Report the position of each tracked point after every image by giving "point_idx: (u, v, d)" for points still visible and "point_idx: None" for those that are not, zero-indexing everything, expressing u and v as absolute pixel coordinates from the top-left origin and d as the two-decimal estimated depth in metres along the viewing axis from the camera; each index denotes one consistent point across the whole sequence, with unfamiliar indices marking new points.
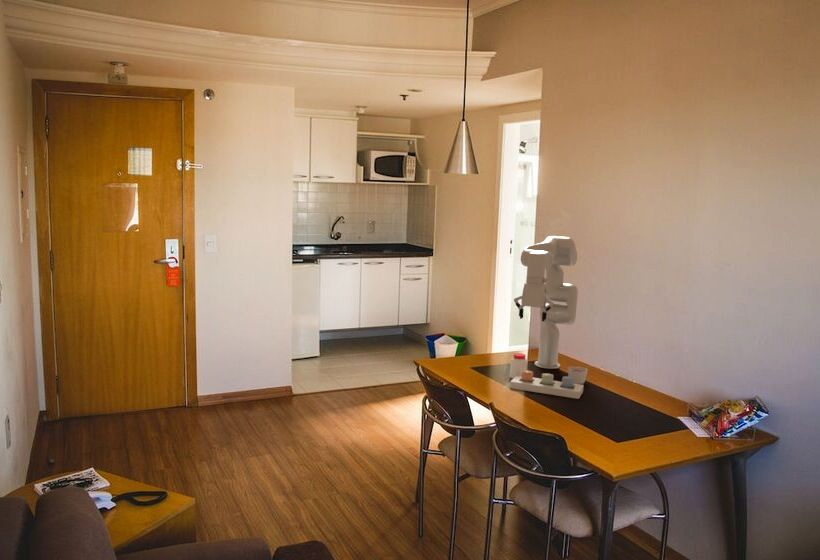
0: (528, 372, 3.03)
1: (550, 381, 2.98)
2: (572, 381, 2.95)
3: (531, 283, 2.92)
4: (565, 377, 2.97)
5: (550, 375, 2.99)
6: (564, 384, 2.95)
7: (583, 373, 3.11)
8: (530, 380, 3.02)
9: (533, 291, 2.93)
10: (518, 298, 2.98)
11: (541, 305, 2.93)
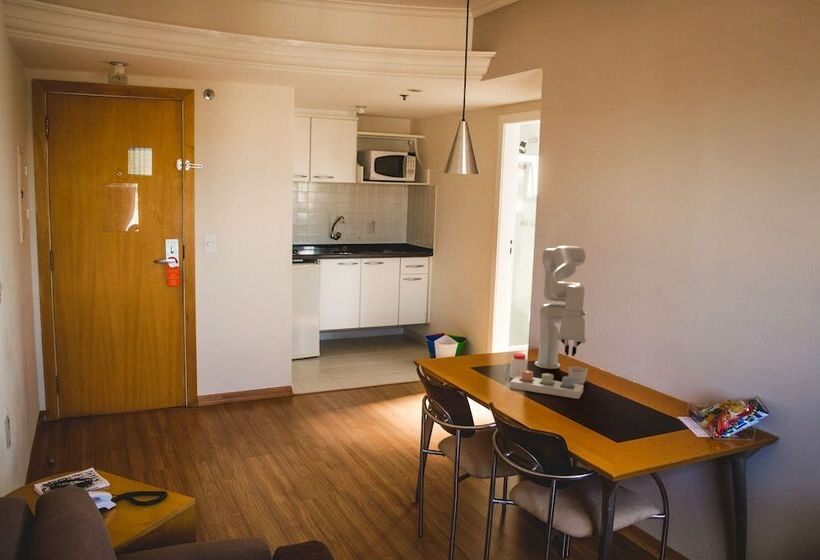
0: (528, 372, 3.03)
1: (550, 381, 2.98)
2: (572, 381, 2.95)
3: (570, 316, 2.90)
4: (565, 377, 2.97)
5: (550, 375, 2.99)
6: (564, 384, 2.95)
7: (583, 373, 3.11)
8: (530, 380, 3.02)
9: (572, 324, 2.91)
10: None
11: (580, 338, 2.91)
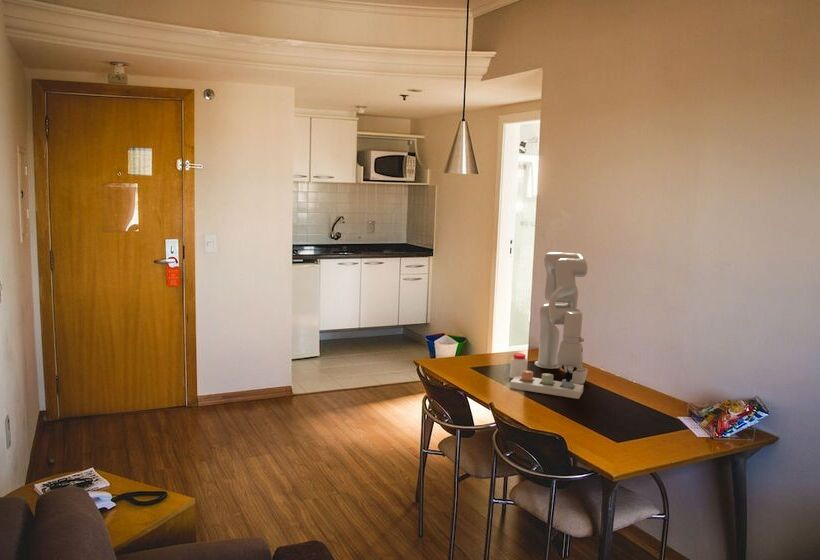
0: (528, 372, 3.03)
1: (550, 381, 2.98)
2: (572, 384, 2.95)
3: (568, 342, 2.91)
4: (565, 380, 2.97)
5: (550, 375, 2.99)
6: (564, 387, 2.96)
7: (583, 373, 3.11)
8: (530, 380, 3.02)
9: (570, 350, 2.92)
10: None
11: (578, 364, 2.92)
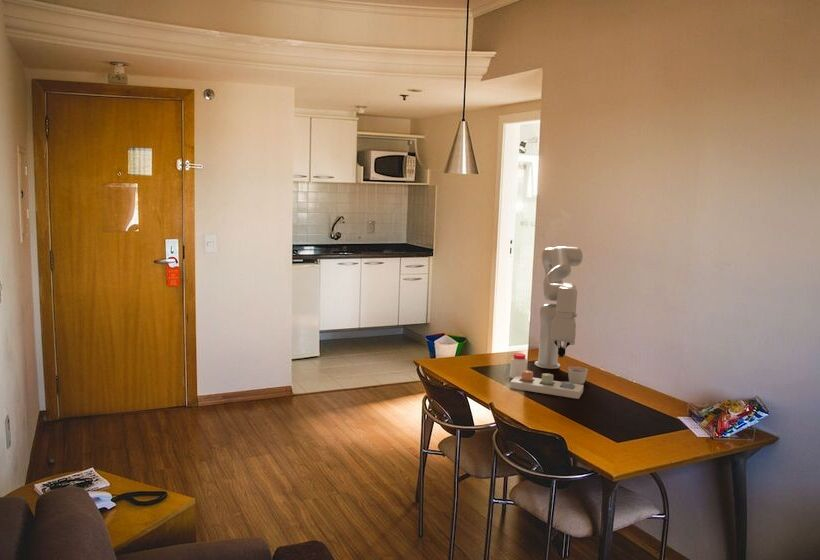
0: (528, 372, 3.03)
1: (550, 381, 2.98)
2: (572, 386, 2.95)
3: (561, 318, 2.91)
4: (565, 382, 2.98)
5: (550, 375, 2.99)
6: None
7: (583, 373, 3.11)
8: (530, 380, 3.02)
9: (563, 325, 2.93)
10: None
11: (571, 340, 2.92)
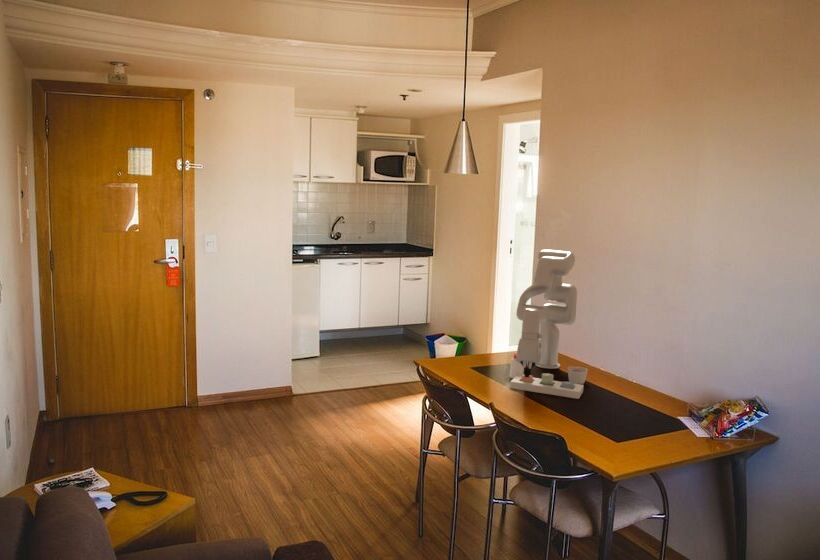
0: None
1: (550, 381, 2.98)
2: (572, 386, 2.95)
3: (526, 339, 2.98)
4: (565, 382, 2.98)
5: (550, 375, 2.99)
6: None
7: (583, 373, 3.11)
8: None
9: (528, 346, 2.99)
10: None
11: (536, 360, 2.99)
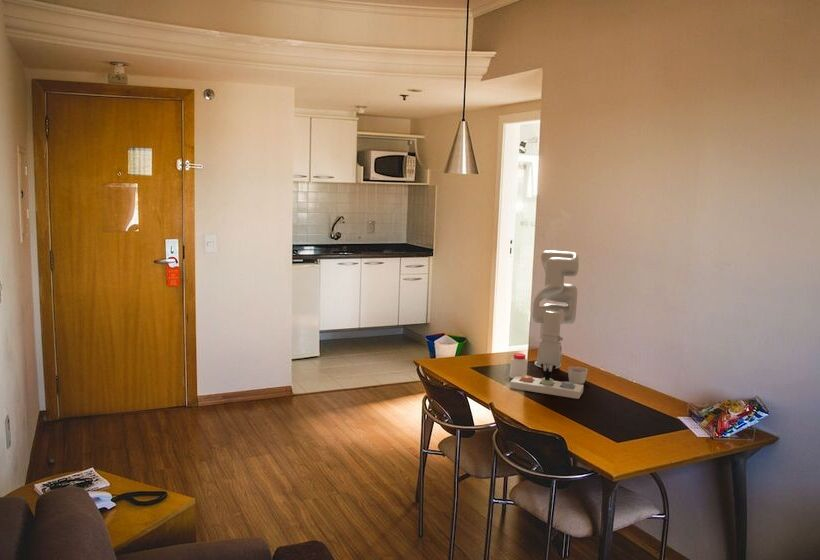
0: (528, 377, 3.03)
1: (550, 385, 2.98)
2: (572, 386, 2.95)
3: (547, 341, 2.95)
4: (565, 382, 2.98)
5: (550, 379, 3.00)
6: None
7: (583, 373, 3.11)
8: None
9: (549, 349, 2.96)
10: None
11: (556, 363, 2.96)
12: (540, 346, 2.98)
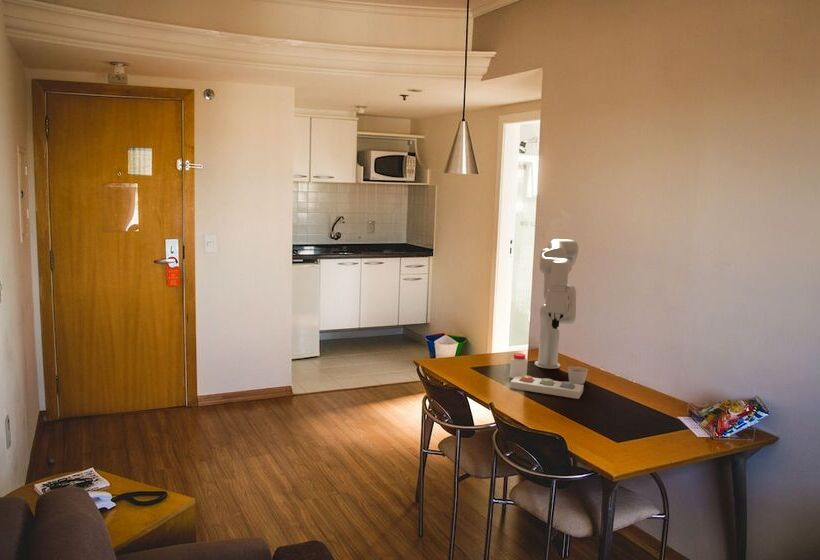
0: (528, 377, 3.03)
1: None
2: (572, 386, 2.95)
3: (554, 291, 3.01)
4: (565, 382, 2.98)
5: (550, 380, 3.00)
6: None
7: (583, 373, 3.11)
8: None
9: (557, 298, 3.03)
10: None
11: (564, 312, 3.02)
12: (548, 296, 3.04)
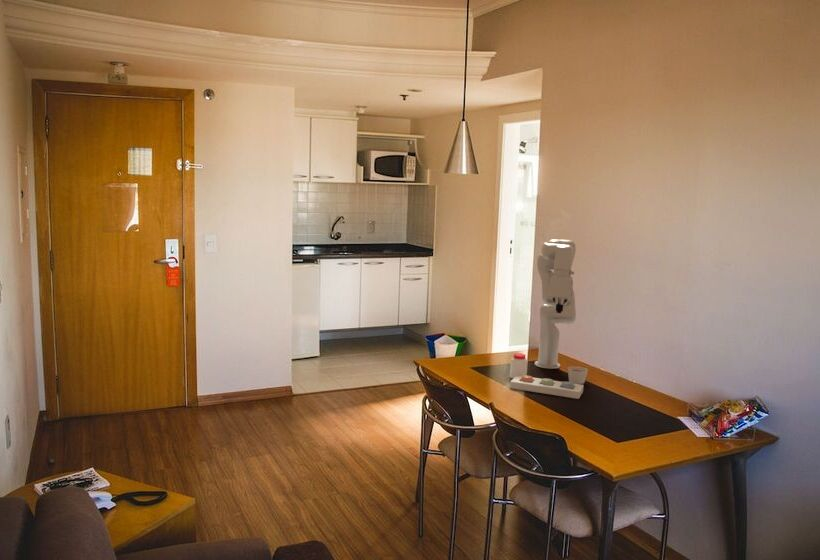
0: (528, 377, 3.03)
1: None
2: (572, 386, 2.95)
3: (559, 275, 3.07)
4: (565, 382, 2.98)
5: (550, 380, 3.00)
6: None
7: (583, 373, 3.11)
8: None
9: (561, 283, 3.08)
10: None
11: (568, 296, 3.08)
12: (552, 280, 3.10)
